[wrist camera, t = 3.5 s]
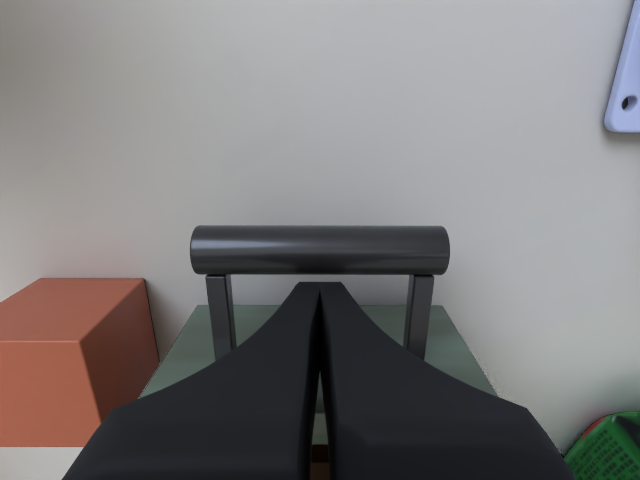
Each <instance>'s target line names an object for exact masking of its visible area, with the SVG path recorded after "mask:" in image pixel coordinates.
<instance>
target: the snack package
mask: <svg viewBox="0 0 640 480" xmlns="http://www.w3.org/2000/svg"><path fill="white" fill-rule="evenodd" d="M564 460H565V462H566V463H567V465H568V466H569V467H570V469H571V470H572V472H573V473H574V477H575V480H640V412H621V413H616V414H611V415H608V416H605V417H602V418H600V419H599V420H597V421H596V422H595V423H593V424H592V425H591V426H590V427H589V428H588V429H587V430H586V431H585V432H584V433H583V435H582V436H581V437H580V438H579V439H578V441H577V442H576V443H575V444H574V445H573V447H572V448H571V449H570V451H569V452H568V453H567V455H566V456H565V457H564Z"/></svg>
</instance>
